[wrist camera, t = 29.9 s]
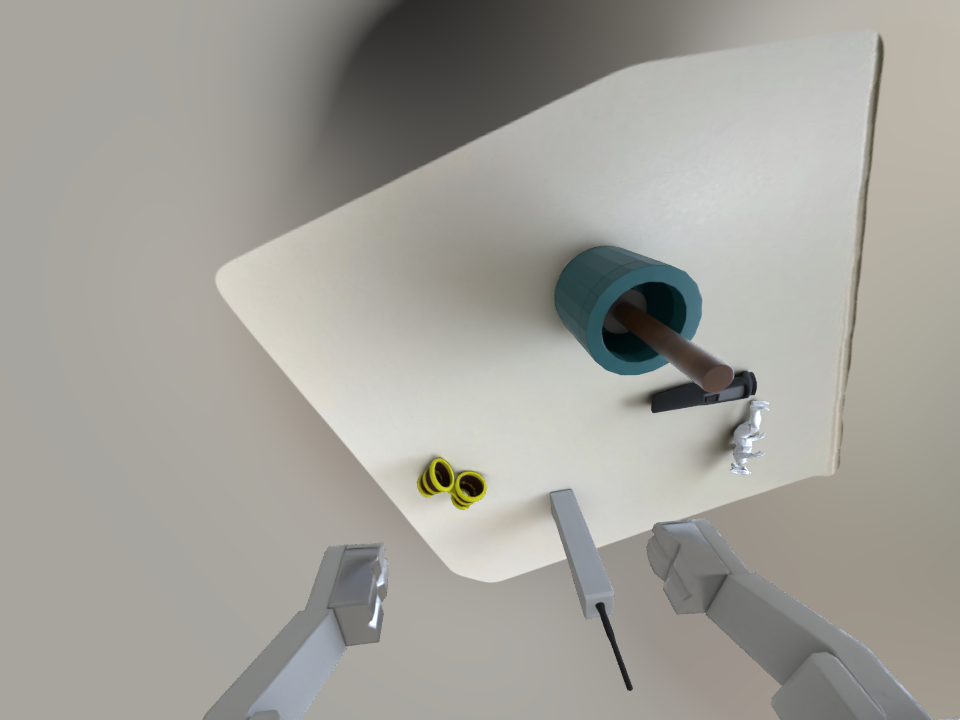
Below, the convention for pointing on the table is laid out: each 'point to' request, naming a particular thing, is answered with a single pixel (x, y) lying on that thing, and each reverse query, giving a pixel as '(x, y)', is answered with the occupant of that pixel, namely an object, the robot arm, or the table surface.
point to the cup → (602, 281)
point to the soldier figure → (747, 438)
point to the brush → (667, 342)
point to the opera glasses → (452, 484)
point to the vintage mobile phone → (585, 566)
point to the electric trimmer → (704, 394)
